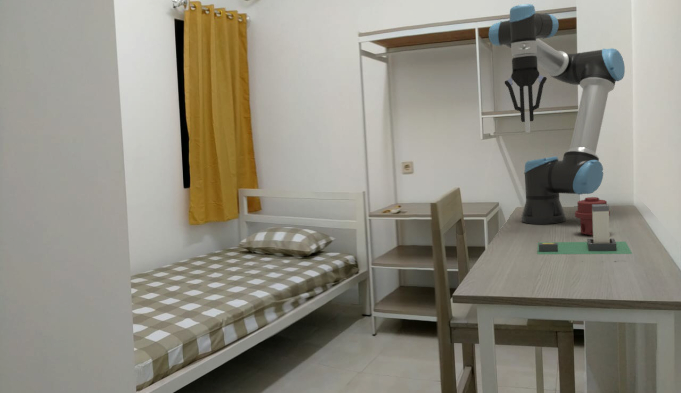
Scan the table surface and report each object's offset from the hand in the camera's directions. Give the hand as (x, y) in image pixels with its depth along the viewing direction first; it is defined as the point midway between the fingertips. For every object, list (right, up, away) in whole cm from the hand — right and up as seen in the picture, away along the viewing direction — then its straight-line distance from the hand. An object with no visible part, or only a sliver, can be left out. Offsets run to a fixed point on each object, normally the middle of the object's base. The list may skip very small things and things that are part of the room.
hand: (527, 132), depth 195 cm
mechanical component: (+19, -33, -3) cm, 39 cm away
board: (+9, -36, -21) cm, 42 cm away
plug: (+13, -35, -24) cm, 44 cm away
